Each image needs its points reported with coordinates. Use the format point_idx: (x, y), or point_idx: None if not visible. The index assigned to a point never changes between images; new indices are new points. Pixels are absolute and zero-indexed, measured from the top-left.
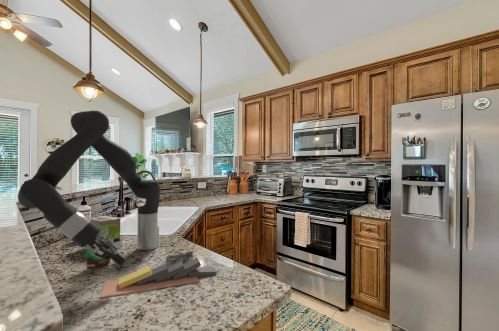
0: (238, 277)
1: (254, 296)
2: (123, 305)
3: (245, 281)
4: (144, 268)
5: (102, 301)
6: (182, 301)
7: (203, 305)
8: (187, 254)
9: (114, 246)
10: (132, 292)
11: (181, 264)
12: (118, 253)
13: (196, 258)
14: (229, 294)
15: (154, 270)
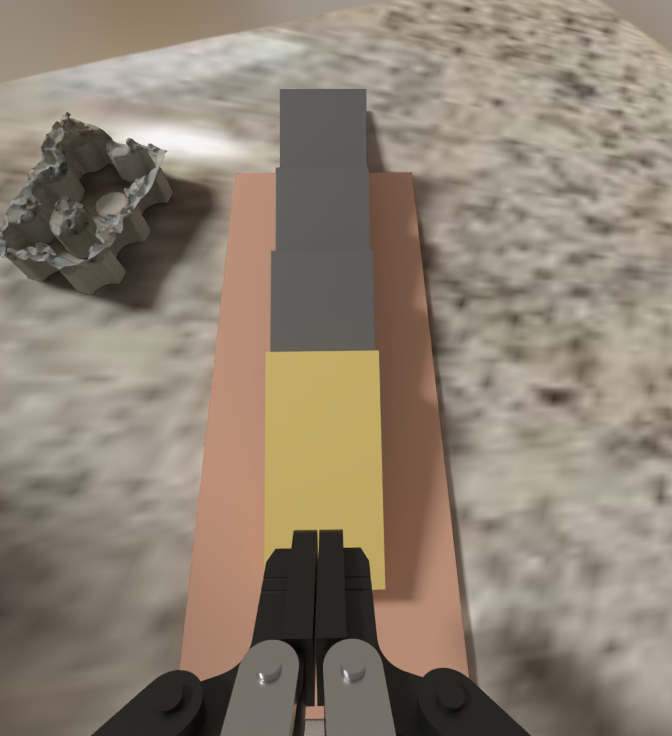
0: (418, 53)
1: (595, 53)
2: (593, 532)
3: (464, 44)
4: (281, 393)
5: (517, 682)
6: (595, 260)
7: (642, 196)
8: (64, 153)
9: (106, 728)
10: (447, 488)
11: (337, 176)
12: (286, 621)
13: (295, 95)
14: (565, 108)
15: (313, 335)
